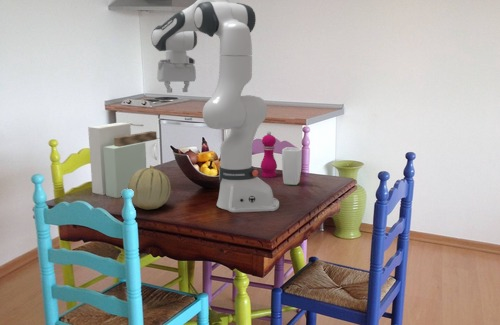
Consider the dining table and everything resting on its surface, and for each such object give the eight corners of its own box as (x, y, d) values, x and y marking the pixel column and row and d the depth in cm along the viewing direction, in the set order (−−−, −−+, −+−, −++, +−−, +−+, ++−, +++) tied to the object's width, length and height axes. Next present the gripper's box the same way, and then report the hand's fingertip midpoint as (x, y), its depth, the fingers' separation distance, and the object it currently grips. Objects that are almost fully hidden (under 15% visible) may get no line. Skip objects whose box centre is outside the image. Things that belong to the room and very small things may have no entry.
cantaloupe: (128, 216, 179) (126, 172, 176) (129, 204, 193) (127, 163, 190) (172, 213, 182) (171, 170, 179) (170, 201, 196) (168, 161, 193)
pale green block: (136, 187, 217) (134, 141, 213) (147, 189, 214) (145, 142, 210) (106, 195, 204) (103, 147, 200) (117, 198, 201) (114, 148, 197)
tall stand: (123, 184, 221) (119, 122, 216) (133, 186, 218) (130, 123, 213) (92, 192, 208) (88, 127, 203) (102, 194, 205) (98, 128, 200)
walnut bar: (151, 138, 219) (151, 131, 218) (156, 139, 217) (156, 131, 217) (114, 145, 203) (114, 137, 202) (119, 146, 201) (119, 138, 200)
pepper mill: (275, 174, 239) (276, 130, 235) (277, 177, 232) (278, 132, 228) (259, 174, 239) (259, 130, 235) (261, 178, 232) (261, 132, 228)
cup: (280, 185, 219) (281, 150, 216) (285, 181, 226) (285, 147, 222) (298, 186, 217) (298, 151, 213) (302, 182, 223) (302, 147, 220)
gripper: (163, 58, 217) (165, 92, 219) (197, 60, 234) (198, 91, 236) (153, 59, 221) (154, 92, 223) (187, 60, 237) (188, 92, 239)
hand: (177, 92), depth 230 cm, fingers open, 8 cm apart
